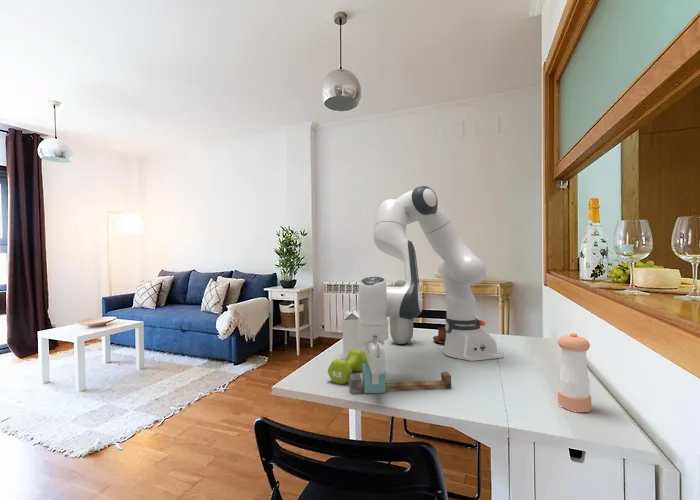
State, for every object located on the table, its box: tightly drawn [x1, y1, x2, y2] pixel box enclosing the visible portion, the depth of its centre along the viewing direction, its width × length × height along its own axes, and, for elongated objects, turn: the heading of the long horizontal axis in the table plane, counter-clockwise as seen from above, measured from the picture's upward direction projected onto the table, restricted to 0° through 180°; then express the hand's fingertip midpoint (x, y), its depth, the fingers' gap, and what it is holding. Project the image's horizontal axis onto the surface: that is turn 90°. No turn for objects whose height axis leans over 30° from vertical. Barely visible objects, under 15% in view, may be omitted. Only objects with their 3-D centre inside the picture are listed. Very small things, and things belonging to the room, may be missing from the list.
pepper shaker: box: [557, 332, 592, 413], centre depth 90 cm, size 7×7×19 cm
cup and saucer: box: [432, 326, 446, 345], centre depth 155 cm, size 12×12×6 cm
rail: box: [349, 371, 452, 395], centre depth 103 cm, size 30×5×4 cm, turn 94°
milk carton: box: [342, 306, 363, 360], centre depth 135 cm, size 7×7×19 cm
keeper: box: [362, 362, 386, 394], centre depth 103 cm, size 6×6×7 cm
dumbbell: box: [327, 349, 368, 385], centre depth 115 cm, size 16×8×7 cm, turn 153°
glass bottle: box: [389, 279, 414, 345], centre depth 154 cm, size 10×10×28 cm
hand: (373, 379), depth 103 cm, fingers closed on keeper, 5 cm apart
